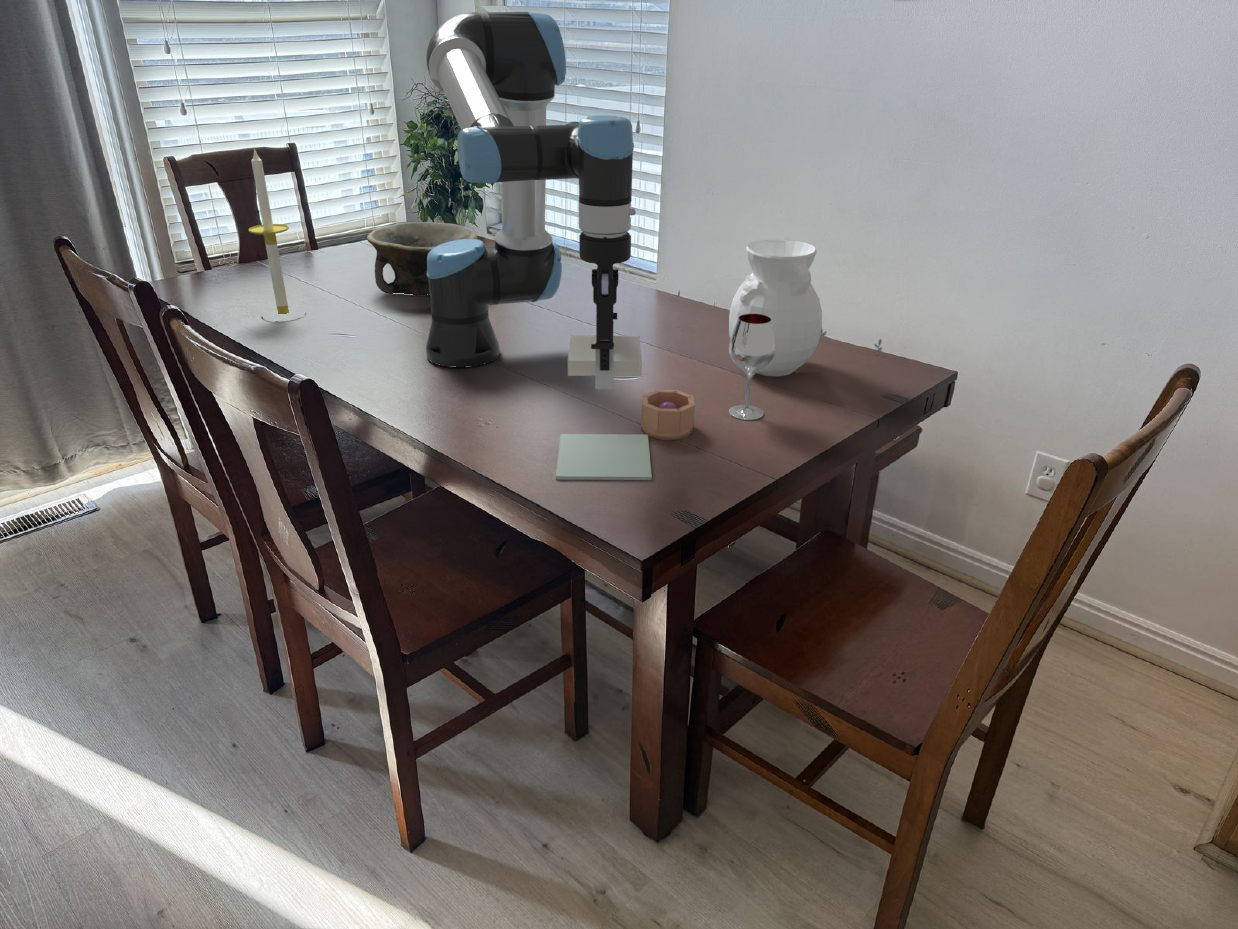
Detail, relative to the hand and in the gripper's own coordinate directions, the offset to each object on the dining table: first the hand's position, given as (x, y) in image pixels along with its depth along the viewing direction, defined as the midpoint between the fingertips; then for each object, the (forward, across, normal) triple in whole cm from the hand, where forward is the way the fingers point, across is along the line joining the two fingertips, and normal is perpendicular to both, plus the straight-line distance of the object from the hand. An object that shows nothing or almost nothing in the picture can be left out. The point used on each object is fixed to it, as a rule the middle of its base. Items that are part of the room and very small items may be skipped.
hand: (604, 373), depth 135 cm
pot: (+15, +11, -11) cm, 22 cm away
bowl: (+15, +92, +46) cm, 104 cm away
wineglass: (+15, +18, -26) cm, 35 cm away
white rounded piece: (+15, +40, -34) cm, 55 cm away
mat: (+15, 0, 0) cm, 15 cm away
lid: (-2, 0, 0) cm, 2 cm away
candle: (+15, +71, +76) cm, 105 cm away
